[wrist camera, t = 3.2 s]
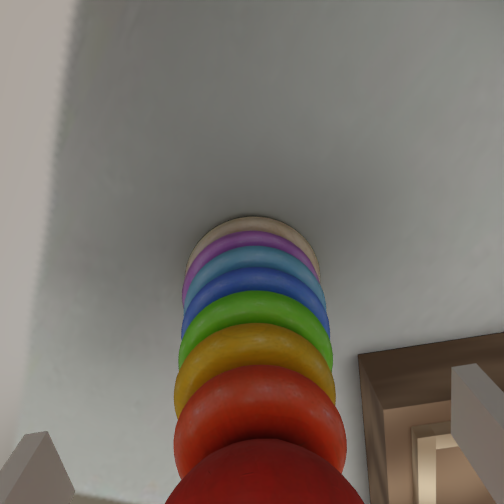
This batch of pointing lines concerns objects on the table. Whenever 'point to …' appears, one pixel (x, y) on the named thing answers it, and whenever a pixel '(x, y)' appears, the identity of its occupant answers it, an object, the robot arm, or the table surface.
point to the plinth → (421, 421)
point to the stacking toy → (257, 374)
